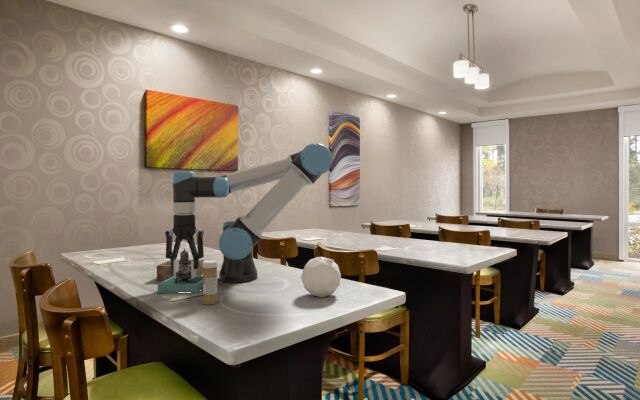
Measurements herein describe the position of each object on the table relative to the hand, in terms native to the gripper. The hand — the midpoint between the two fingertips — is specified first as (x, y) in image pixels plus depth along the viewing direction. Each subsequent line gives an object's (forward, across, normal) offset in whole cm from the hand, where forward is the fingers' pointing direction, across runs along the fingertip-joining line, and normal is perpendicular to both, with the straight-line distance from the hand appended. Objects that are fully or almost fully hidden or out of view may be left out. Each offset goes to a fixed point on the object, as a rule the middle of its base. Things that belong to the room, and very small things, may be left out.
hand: (185, 277), depth 148 cm
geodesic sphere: (+4, -50, +7) cm, 51 cm away
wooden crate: (+4, +9, -18) cm, 20 cm away
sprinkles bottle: (+4, -16, +18) cm, 24 cm away
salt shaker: (+2, 0, 0) cm, 2 cm away
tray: (+4, 0, 0) cm, 4 cm away
